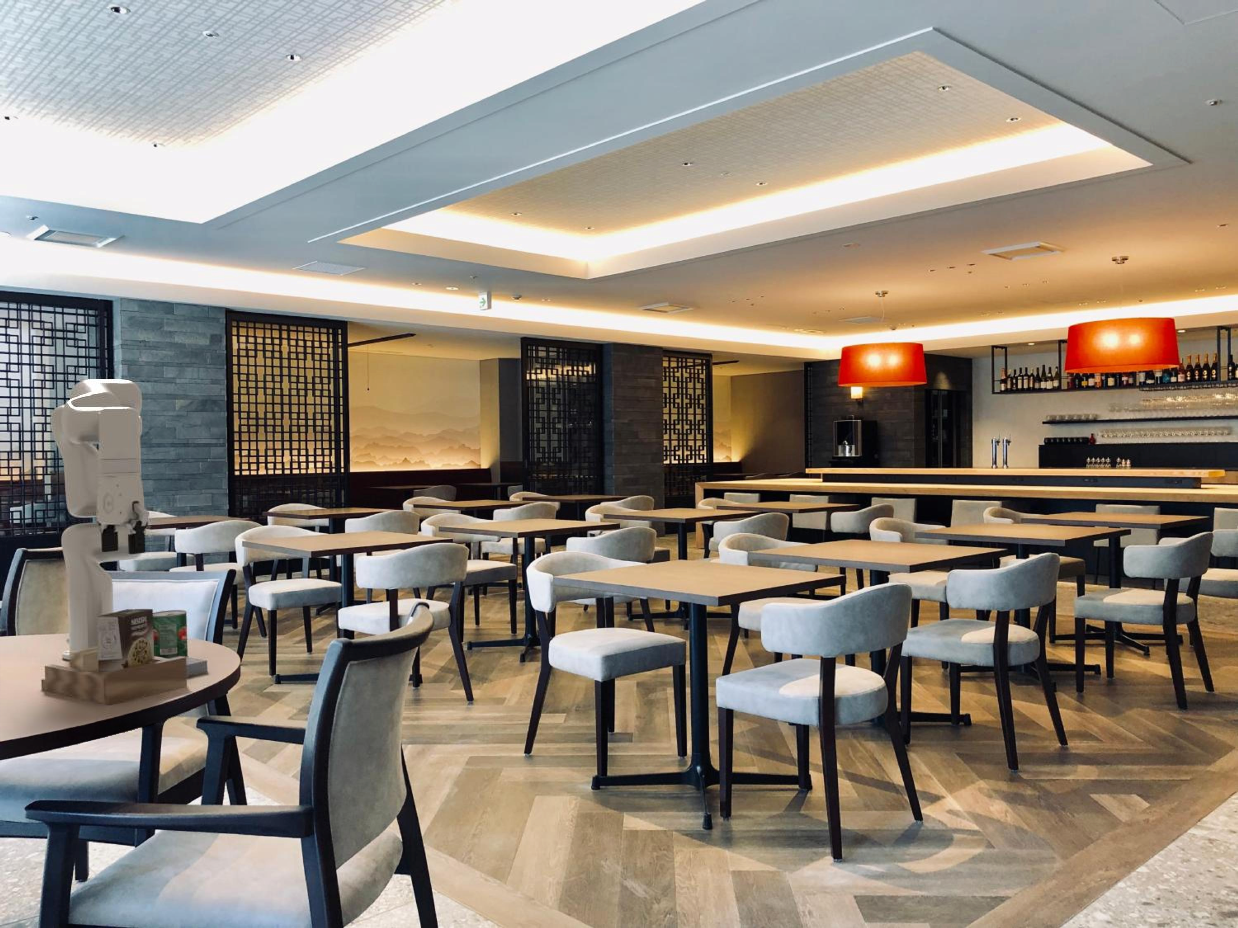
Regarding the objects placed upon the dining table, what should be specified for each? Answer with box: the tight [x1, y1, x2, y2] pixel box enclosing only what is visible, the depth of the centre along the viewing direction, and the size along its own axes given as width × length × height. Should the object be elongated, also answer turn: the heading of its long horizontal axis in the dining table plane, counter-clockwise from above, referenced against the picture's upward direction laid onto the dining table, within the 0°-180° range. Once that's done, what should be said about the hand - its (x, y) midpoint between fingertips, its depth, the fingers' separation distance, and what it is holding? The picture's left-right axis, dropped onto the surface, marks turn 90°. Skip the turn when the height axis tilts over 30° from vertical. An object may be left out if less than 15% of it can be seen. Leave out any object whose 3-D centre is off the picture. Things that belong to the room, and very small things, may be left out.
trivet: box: [167, 656, 208, 677], centre depth 212 cm, size 10×8×2 cm
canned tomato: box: [153, 609, 189, 658], centre depth 225 cm, size 8×8×11 cm
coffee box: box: [97, 608, 154, 675], centre depth 197 cm, size 9×6×16 cm
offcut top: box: [69, 647, 98, 671], centre depth 204 cm, size 5×8×4 cm, turn 148°
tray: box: [40, 656, 188, 706], centre depth 200 cm, size 25×16×6 cm, turn 57°
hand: (123, 552), depth 197 cm, fingers open, 9 cm apart
